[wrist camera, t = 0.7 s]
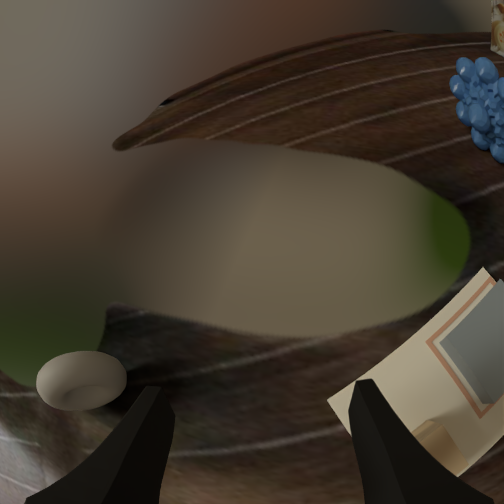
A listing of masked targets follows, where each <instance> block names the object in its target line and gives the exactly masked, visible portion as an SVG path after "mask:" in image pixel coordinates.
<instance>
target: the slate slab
mask: <svg viewBox="0 0 504 504" xmlns="http://www.w3.org/2000/svg"><path fill="white" fill-rule="evenodd" d="M439 343H440V345H441V346H442V347H443V349H444V350H445V351H446V353H447V354H448V355H449V357H450V358H451V359H452V361H453V362H454V364H455V365H456V366H457V368H458V369H459V370H460V372H461V373H462V375H463V376H464V377H465V379H466V380H467V382H468V383H469V385H470V386H471V387H472V389H473V390H474V392H475V393H476V395H477V396H478V398H479V399H480V401H481V402H482V404H493V403H495V402H496V401H497V400H498V399H499V398H500V397H501V396H502V394H503V393H504V282H503V281H502V280H501V279H500V280H499V281H498V282H497V283H496V284H495V285H494V286H493V288H492V289H491V290H490V291H489V292H488V293H487V294H486V295H485V297H484V298H483V299H482V300H481V301H480V302H479V303H478V304H477V305H476V306H475V307H474V309H473V310H472V311H471V312H470V313H469V314H468V315H467V316H466V317H465V318H464V319H463V320H462V321H461V322H460V323H459V324H458V325H457V326H456V327H455V328H454V329H453V330H452V331H451V332H450V333H449V334H448V335H447V336H446V337H445V338H444V339H443V340H442V341H440V342H439Z"/></svg>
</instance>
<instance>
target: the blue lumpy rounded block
mask: <svg viewBox="0 0 504 504" xmlns="http://www.w3.org/2000/svg"><path fill="white" fill-rule="evenodd" d="M456 69H457V73H458V75H454V76H452V77H451V78H450V88H451V91H452V93H453V95H454V96H455V97H456V98H457V99H459V100H460V101H459V102H458V103H457V106H456V112H457V116H458V118H459V120H460V121H461V122H462V123H463V124H465V125H467V126H472V130H471V135H472V139H473V142H474V143H475V145H476V146H477V147H478V148H480V149H482V150H487V149H489V148H490V152H491V154H492V156H493V158H494V159H495V160H496V161H498V162H499V163H504V77H501V78H500V79H499V75H498V71H497V68H496V67H495V66H494V64H493V63H492V62H491V61H490V60H489V59H487V58H485V57H479V58H478V59H477V60H476V61H475V64H474V63H473V62H472V61H471V60H470V59H468V58H460V59H458V60H457V63H456Z"/></svg>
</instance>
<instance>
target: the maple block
mask: <svg viewBox="0 0 504 504" xmlns="http://www.w3.org/2000/svg"><path fill="white" fill-rule="evenodd" d="M411 433H412V434H413V436H414V437H415V438H416V439H417V440H418V441H419V442H420V444H421V445H422V446H423V447H424V448H425V449H426V450H427V451H428V452H429V453H430V454H431V455H432V456H433V457H434V458H435V459H436V460H437V461H438V462H440V463H441V464H442V465H443V466H444V467H445V468H446V469H448V470H449V471H450V472H452V473H453V474H454V475H455V476H456V475H457V474H459V473H460V472H461V471H462V470H463V469H465V468H466V467H467V466H468V465H469V464H468V462H467V461H466V459H465V458H464V456H463V454H462V453H461V451H460V450H459V448H458V447H457V445H456V444H455V442H454V441H453V439H452V438H451V436H450V435H449V433H448V432H447V430H446V429H445V427H444V426H443V424H440V423H436V422H432V421H429V420H426V421H425V422H423V423H422V424H421V425H420V426H418V427H417V428H416V429H415V430H413V431H412V432H411Z"/></svg>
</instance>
